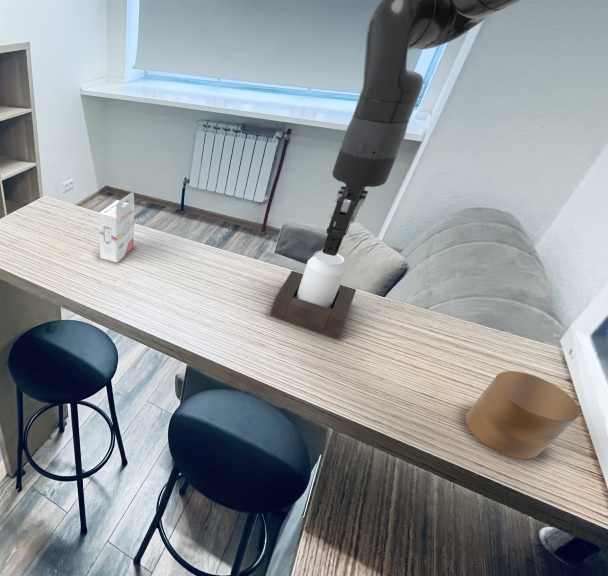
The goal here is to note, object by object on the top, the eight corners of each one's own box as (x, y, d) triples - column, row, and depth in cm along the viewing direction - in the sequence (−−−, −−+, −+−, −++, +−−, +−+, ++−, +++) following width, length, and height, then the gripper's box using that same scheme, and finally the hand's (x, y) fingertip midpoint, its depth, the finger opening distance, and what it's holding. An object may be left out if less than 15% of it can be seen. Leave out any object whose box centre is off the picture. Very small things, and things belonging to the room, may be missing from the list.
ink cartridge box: (116, 243, 103) (116, 187, 94) (133, 247, 100) (136, 190, 92) (98, 258, 97) (97, 199, 88) (116, 263, 94) (117, 204, 86)
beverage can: (314, 324, 76) (334, 270, 69) (286, 307, 80) (302, 254, 73) (334, 313, 78) (356, 260, 71) (306, 297, 83) (324, 245, 76)
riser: (546, 436, 56) (586, 398, 51) (531, 471, 52) (573, 432, 47) (475, 400, 61) (505, 362, 56) (456, 429, 57) (487, 390, 52)
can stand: (349, 305, 80) (356, 289, 78) (337, 338, 72) (345, 321, 70) (287, 286, 86) (291, 270, 84) (270, 315, 78) (274, 298, 76)
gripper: (392, 166, 55) (351, 268, 64) (402, 141, 64) (364, 233, 73) (332, 157, 58) (300, 254, 68) (349, 134, 68) (320, 222, 77)
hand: (334, 243), depth 71 cm, fingers open, 8 cm apart
